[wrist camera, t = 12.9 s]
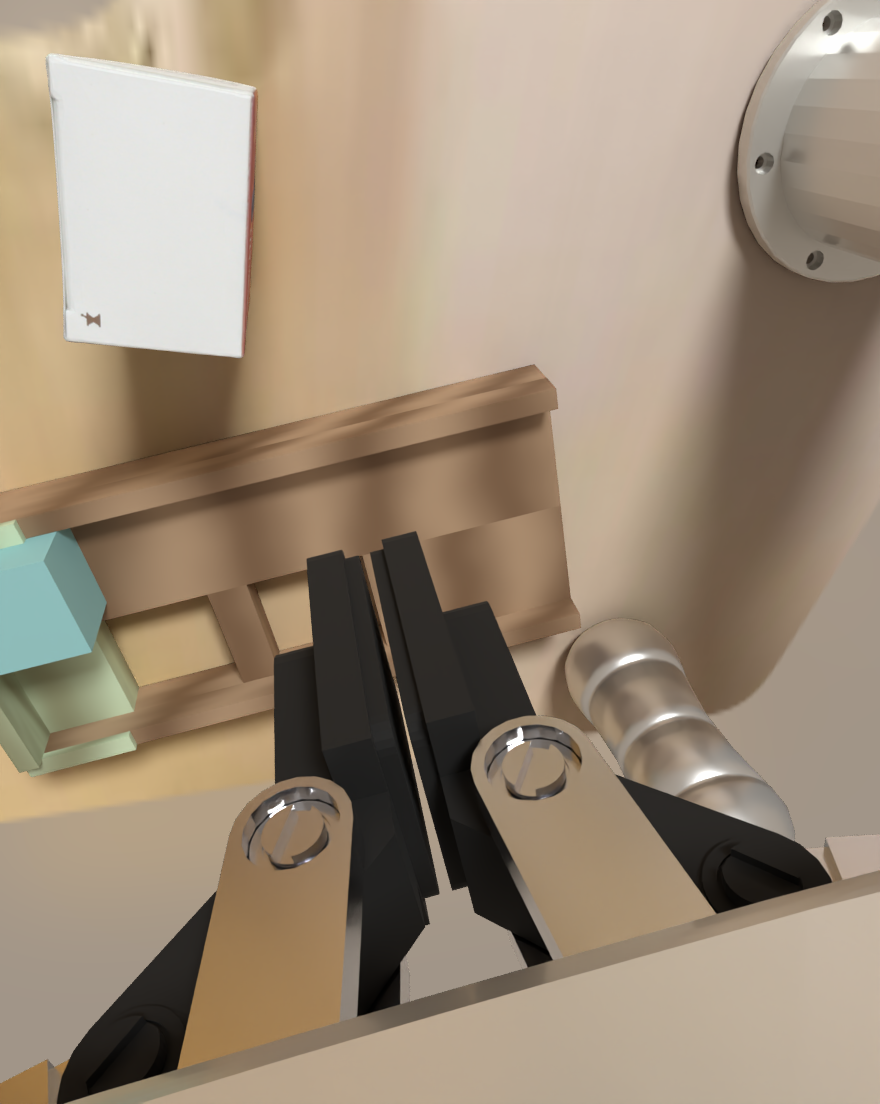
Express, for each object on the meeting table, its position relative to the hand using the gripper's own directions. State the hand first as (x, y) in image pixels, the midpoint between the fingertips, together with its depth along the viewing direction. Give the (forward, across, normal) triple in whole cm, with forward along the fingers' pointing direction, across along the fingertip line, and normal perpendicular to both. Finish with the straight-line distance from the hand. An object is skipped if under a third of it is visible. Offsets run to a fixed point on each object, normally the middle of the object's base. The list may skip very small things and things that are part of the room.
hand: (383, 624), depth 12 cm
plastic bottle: (+27, -12, +26) cm, 40 cm away
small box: (+27, +4, -4) cm, 28 cm away
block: (+25, +16, +10) cm, 32 cm away
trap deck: (+27, +6, +14) cm, 31 cm away
